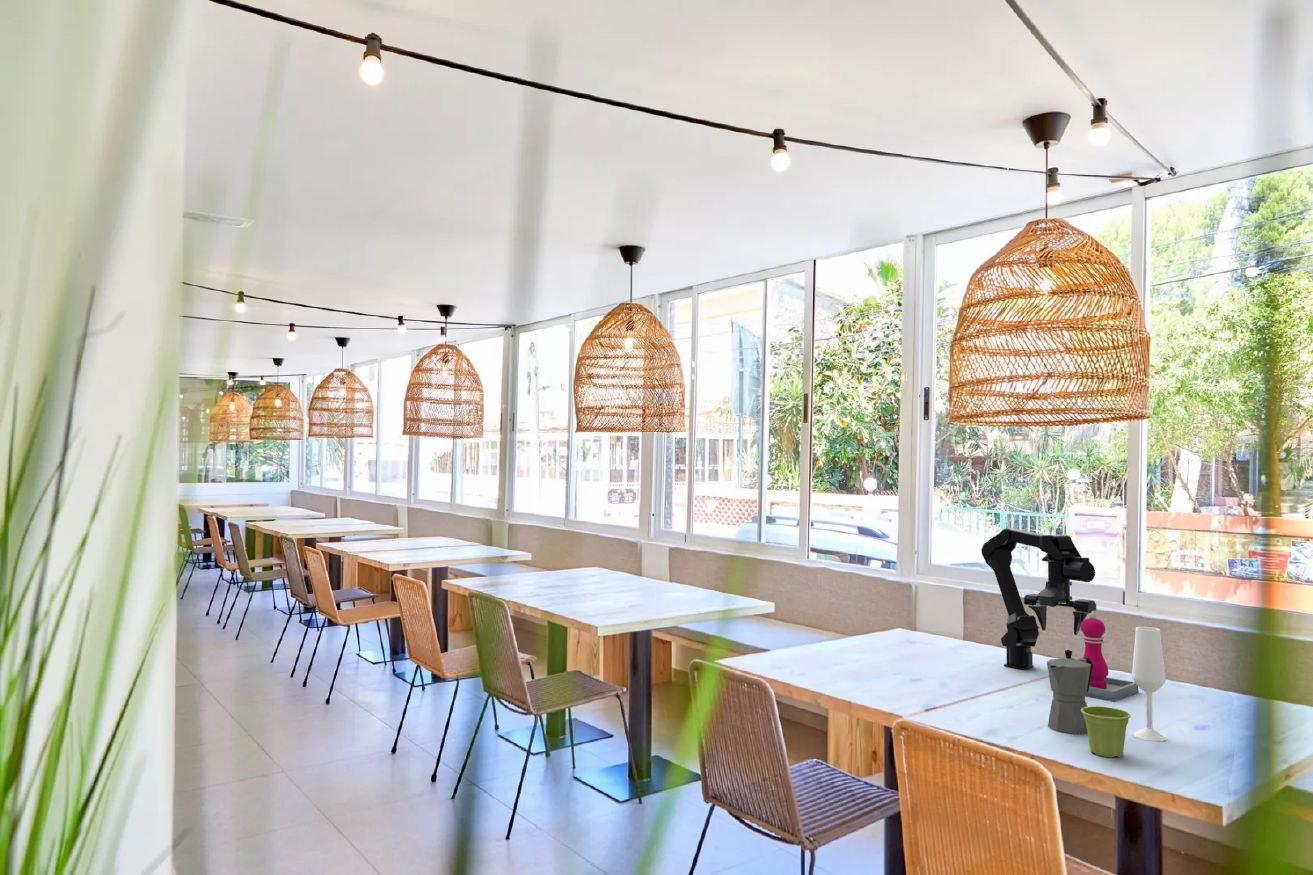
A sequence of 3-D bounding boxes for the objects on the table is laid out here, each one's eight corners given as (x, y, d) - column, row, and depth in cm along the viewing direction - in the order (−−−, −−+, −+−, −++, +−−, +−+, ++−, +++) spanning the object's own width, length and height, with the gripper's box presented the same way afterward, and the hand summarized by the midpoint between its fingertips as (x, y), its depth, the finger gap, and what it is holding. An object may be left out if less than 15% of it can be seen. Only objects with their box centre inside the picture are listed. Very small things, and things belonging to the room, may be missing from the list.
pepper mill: (1076, 687, 236) (1075, 613, 237) (1081, 682, 242) (1080, 609, 243) (1106, 691, 232) (1105, 615, 233) (1110, 686, 238) (1109, 612, 239)
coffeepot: (1071, 738, 194) (1069, 656, 195) (1033, 727, 202) (1032, 649, 203) (1111, 728, 202) (1110, 649, 203) (1073, 718, 210) (1072, 642, 211)
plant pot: (1078, 755, 182) (1077, 713, 183) (1084, 743, 190) (1084, 703, 191) (1129, 763, 177) (1128, 720, 178) (1133, 751, 185) (1133, 710, 185)
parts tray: (1053, 689, 238) (1053, 680, 238) (1079, 681, 248) (1079, 672, 248) (1113, 701, 226) (1113, 691, 226) (1138, 691, 236) (1138, 682, 236)
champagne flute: (1150, 742, 192) (1148, 631, 193) (1125, 733, 198) (1123, 626, 199) (1174, 739, 194) (1172, 630, 194) (1149, 730, 200) (1147, 625, 201)
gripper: (1014, 577, 254) (1014, 631, 254) (1078, 583, 240) (1079, 640, 240) (1032, 574, 262) (1033, 627, 261) (1096, 580, 247) (1097, 636, 247)
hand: (1059, 632), depth 252 cm, fingers open, 9 cm apart
